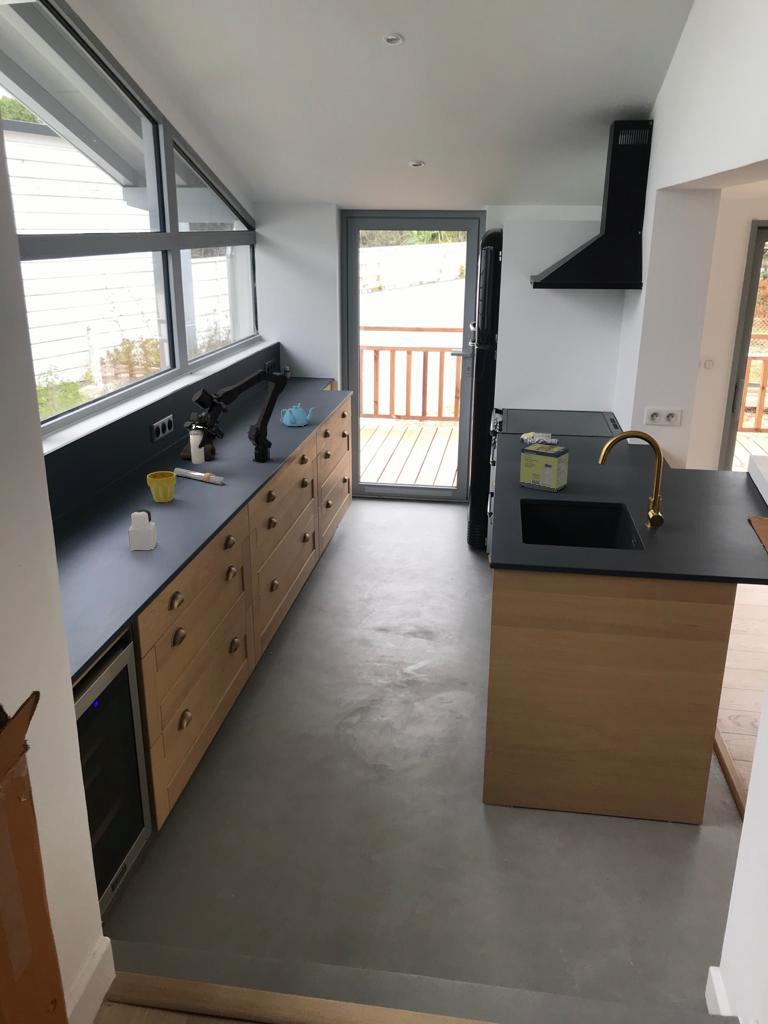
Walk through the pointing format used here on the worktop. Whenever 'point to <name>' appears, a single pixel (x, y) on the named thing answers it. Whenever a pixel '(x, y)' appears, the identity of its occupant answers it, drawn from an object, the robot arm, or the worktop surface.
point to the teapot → (296, 416)
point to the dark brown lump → (208, 451)
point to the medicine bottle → (142, 531)
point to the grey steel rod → (200, 476)
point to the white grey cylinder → (196, 446)
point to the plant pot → (162, 485)
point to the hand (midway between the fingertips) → (194, 447)
